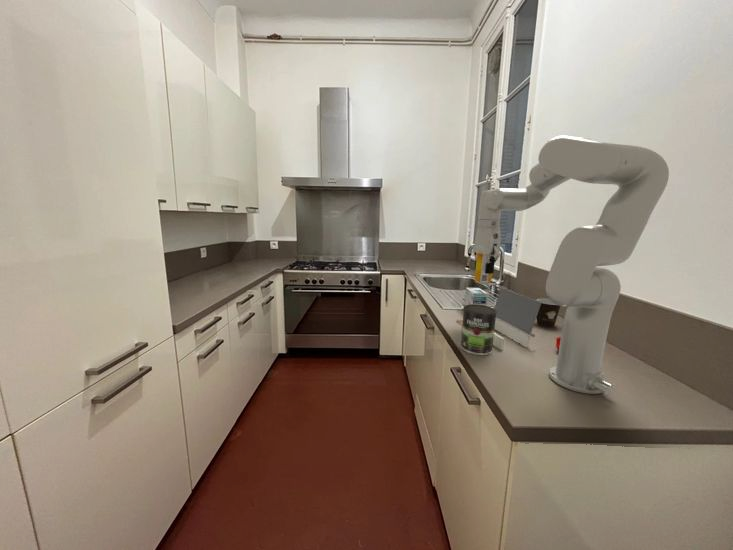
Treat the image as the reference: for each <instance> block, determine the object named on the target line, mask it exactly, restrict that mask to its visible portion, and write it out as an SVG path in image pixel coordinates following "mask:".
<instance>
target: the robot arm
mask: <svg viewBox="0 0 733 550" xmlns="http://www.w3.org/2000/svg"><path fill="white" fill-rule="evenodd" d="M537 160H538V163H536V164H535V165H534V166H533V167H532V168H531V169H530V170H529V174H528V176H529V177H528V178H529V183H530V184H529V185H528V186H525V187H524V188H510V187H509V188H507V187H504V188H503V187H500V188H495V189H490V190H488V189H486V190H483V191H482V192H481V193H480V198H479V199H480V200H479V208H478V209H479V210H478V221H477V230H476V234H475V238H474V246H473V248H472V251H473V254H474V260H475V261H474V262H475V263H474V271H475V270H476V260H477V250H478V246H479V244H481V245H483V247H484V253H485V255H487V262H488V263H486V269H485V273H486V274H491V273H492V274H494V271H495V264H496V263H497V260H498V259H499V258H500V257H501V244H502V243H501V240H502V239H501V237H502V236H501V229H500V224H501V223H500V222H501V215H502V212H509V211H510V212H522V211H525V210H528V209H531V208H532V207H534V206H537V205H538V204H540V203H541V202H543V201H544V200H545V199H546V198H547V197H548V196H549V193H550V192H551V190H552V189H554V188H557V187H558V186H560V185H562V184H564V183H565V182H568V181H570V180H574V181H578V182H582V183H587V184H595V185H596V184H598V185H613V186H615V185H616V186H617V187H618V189H617V190H616V192H615V193H614V194H612V195H611V197H609V199H608V200H607V202H606V203H605V205H604V207H603V209H602V211H601V214H600V216H599V219H598V220H597V222H596V224H595V225H583V226H578V227H576V228H574V229H572V230H571V231H570V232H568V233H567V234H566V235H565V236H564V238H562V240H561V242H560V244H559V247H558V249H557V252H556V253H555V257H554V259H553V262H552V265H551V267H550V270H549V272H548V275H547V278H546V280H545V281H546V282H545V292H546V293H545V294H546V295H547V297H548V298H547V299H550V300H551V301H552V302H553V303H554V304H556V305H559V306H560V307H563V308H566V310H565V313H564V317H563V323H562V326H561V327H562V328H561V335H560V337H561V340H560V347H559V350H558V354H557V362H556V365H554V366H552V367H550V368H549V370H548V376H549V377H550V378H551V380H552V381H553V382H554V383H556V384H558V385H560V386H561V387H563V388H565V389H567V390H568V389H569V390H571V391H573V392H576V393H581V394H587V395H588V394H589V395H597V394H604V395H605V396H608V395H610V394H611V392H612V390H613V389H614V386H613V385H612V383H609V382H607V381H605V373H604V372H601V369H602V364H603V359H604V353H605V348H606V342H607V337H608V332H609V328H610V322H611V319H612V316H613V312H614V309H615V307H616V304H617V302H618V300H619V298H620V293H621V287H622V285H621V281H620V279H619V277H618V276H617V275H616V273H614V272H613V271H611V270H610V269H607V268H604V267H605V266H606V267H607V266H614V265H620V264H623V263H624V262H626V261H627V260H629V258H630V257H631V256H632V254H633V252H634V250H635V248H636V246H637V244H638V243H639V240H640V239H641V237H642V234H643V232H644V230H645V228H646V226H647V225H648V222H649V220H650V217H651V216H652V213H653V212H654V209H655V208H656V206H657V204H658V203H659V200H660V199H661V197H662V195H663V193H664V192H665V189H666V187H667V185H668V181H669V176H670V171H669V167H668V164H667V162H666V160H665V158H664V157H663V156H662V155H660V154H659V153H658V152H656V151H654V150H652V149H650V148H649V149H648V148H647V147H643V146H639V145H631V144H621V143H620V144H619V143H611V142H604V141H596V140H592V139H590V138H587V137H586V138H585V137H579V136H572V135H571V136H570V135H559V136H555V137H553V138H551V139H550V140H548V141H547V142H546V143H545V144H544V145H543V146H542V148H541V149H540V151H539V153H538V159H537ZM491 253H493V254H492V255H490V254H491ZM490 257H492V258H491V259H490ZM603 266H604V267H603Z"/></svg>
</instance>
